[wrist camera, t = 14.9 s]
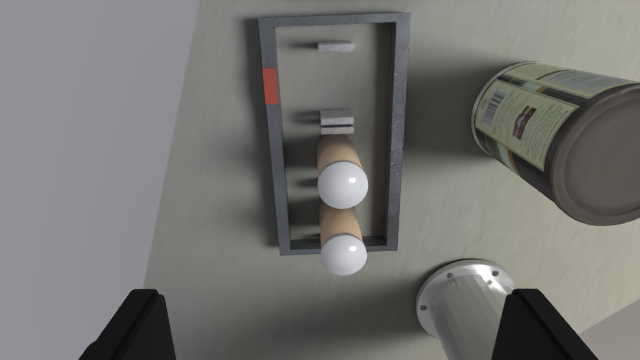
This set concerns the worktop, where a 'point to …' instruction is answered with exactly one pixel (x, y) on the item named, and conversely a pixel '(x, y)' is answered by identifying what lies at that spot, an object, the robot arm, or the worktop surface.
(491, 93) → the coffee can
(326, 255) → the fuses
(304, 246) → the frame
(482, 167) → the worktop surface
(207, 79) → the worktop surface
